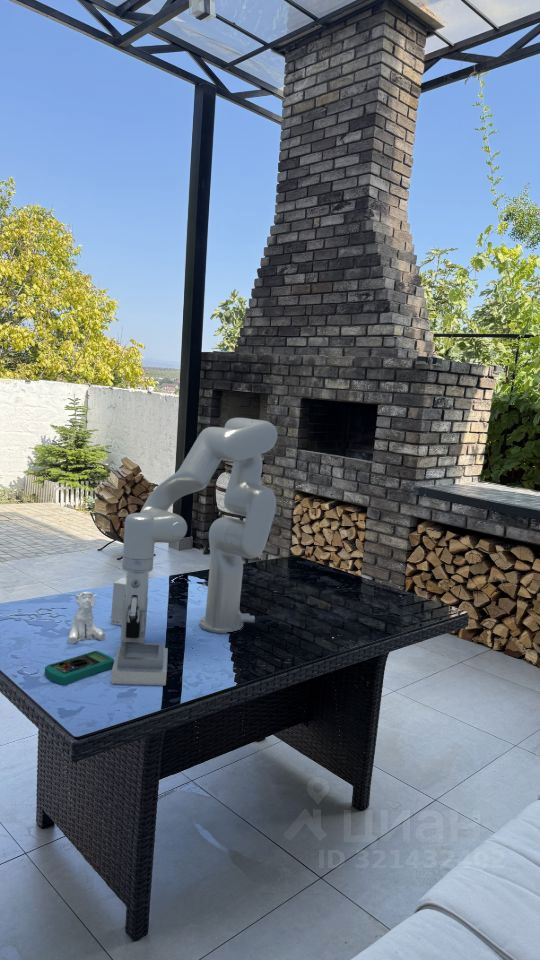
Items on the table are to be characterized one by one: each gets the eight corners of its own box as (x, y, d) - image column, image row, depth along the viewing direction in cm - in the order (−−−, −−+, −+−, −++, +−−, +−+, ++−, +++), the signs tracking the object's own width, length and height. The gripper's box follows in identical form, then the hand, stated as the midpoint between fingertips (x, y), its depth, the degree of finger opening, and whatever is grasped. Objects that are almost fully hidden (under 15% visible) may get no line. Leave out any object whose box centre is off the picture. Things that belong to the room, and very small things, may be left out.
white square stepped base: (166, 659, 155) (168, 640, 155) (165, 685, 142) (167, 664, 141) (117, 658, 154) (118, 638, 153) (110, 684, 140) (112, 662, 139)
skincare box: (124, 626, 175) (127, 584, 173) (110, 624, 175) (113, 582, 174) (133, 619, 180) (136, 579, 179) (119, 617, 181) (122, 576, 180)
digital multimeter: (41, 677, 141) (42, 664, 141) (96, 659, 153) (97, 648, 152) (60, 688, 137) (61, 675, 136) (115, 669, 148) (116, 657, 148)
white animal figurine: (68, 645, 159) (71, 599, 157) (60, 633, 166) (62, 588, 164) (105, 640, 164) (108, 596, 162) (95, 629, 171) (98, 586, 170)
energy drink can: (142, 643, 164) (146, 587, 162) (145, 652, 158) (149, 594, 156) (119, 644, 162) (122, 587, 160) (121, 653, 156) (124, 595, 154)
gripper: (151, 573, 149) (146, 646, 152) (154, 555, 166) (150, 620, 169) (119, 572, 148) (114, 645, 151) (125, 553, 165) (121, 619, 167)
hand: (133, 631), depth 160 cm, fingers closed on energy drink can, 6 cm apart
